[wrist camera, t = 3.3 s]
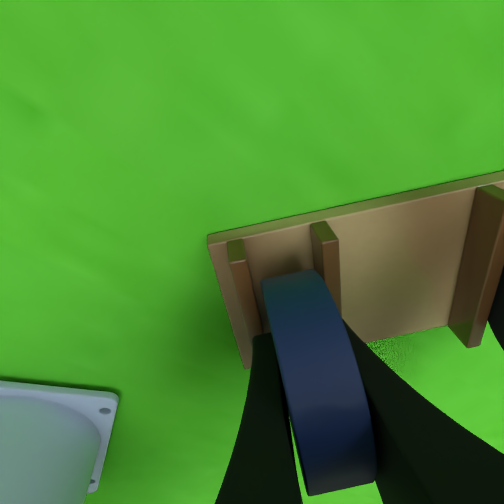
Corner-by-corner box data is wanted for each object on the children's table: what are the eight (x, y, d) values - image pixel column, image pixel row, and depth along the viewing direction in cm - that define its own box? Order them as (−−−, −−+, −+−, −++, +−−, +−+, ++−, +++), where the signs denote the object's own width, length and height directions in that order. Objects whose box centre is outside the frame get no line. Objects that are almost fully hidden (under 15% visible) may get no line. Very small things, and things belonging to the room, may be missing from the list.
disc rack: (242, 356, 16) (247, 397, 14) (206, 234, 12) (206, 267, 10) (522, 295, 16) (564, 328, 14) (573, 154, 12) (639, 173, 10)
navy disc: (276, 358, 15) (315, 533, 10) (251, 244, 12) (291, 417, 6) (314, 350, 15) (374, 520, 10) (301, 233, 12) (384, 397, 6)
